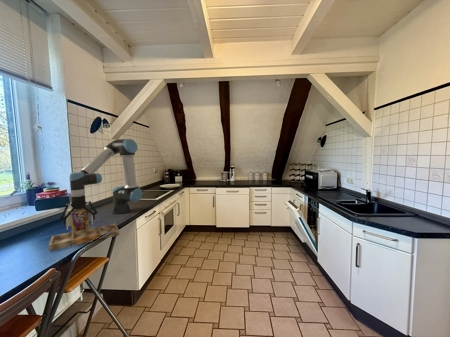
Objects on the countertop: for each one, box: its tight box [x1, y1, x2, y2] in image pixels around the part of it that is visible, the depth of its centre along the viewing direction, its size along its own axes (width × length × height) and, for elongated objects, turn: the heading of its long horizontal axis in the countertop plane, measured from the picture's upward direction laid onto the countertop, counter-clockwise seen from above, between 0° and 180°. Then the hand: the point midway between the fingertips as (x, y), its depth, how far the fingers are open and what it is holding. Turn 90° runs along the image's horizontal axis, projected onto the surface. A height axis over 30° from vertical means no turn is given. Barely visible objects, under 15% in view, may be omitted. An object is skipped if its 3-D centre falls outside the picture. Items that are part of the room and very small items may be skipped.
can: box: [65, 207, 79, 227], centre depth 148 cm, size 9×9×12 cm
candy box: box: [71, 208, 90, 232], centre depth 133 cm, size 9×4×15 cm, turn 140°
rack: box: [48, 223, 120, 252], centre depth 123 cm, size 34×15×4 cm, turn 126°
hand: (80, 226), depth 133 cm, fingers open, 13 cm apart
